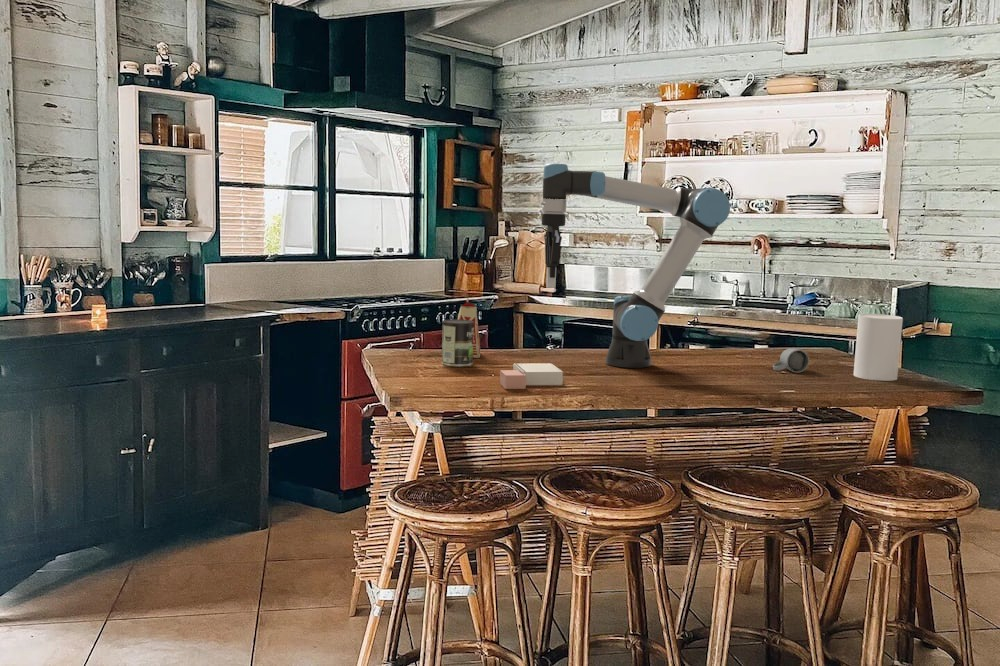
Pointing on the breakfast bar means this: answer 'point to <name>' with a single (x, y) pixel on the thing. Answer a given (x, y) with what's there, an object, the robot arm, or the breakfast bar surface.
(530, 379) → the board
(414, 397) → the breakfast bar surface
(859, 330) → the canister
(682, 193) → the robot arm
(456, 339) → the coffee can
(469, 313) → the milk carton
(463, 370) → the breakfast bar surface
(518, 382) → the stub
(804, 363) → the ceramic mug
